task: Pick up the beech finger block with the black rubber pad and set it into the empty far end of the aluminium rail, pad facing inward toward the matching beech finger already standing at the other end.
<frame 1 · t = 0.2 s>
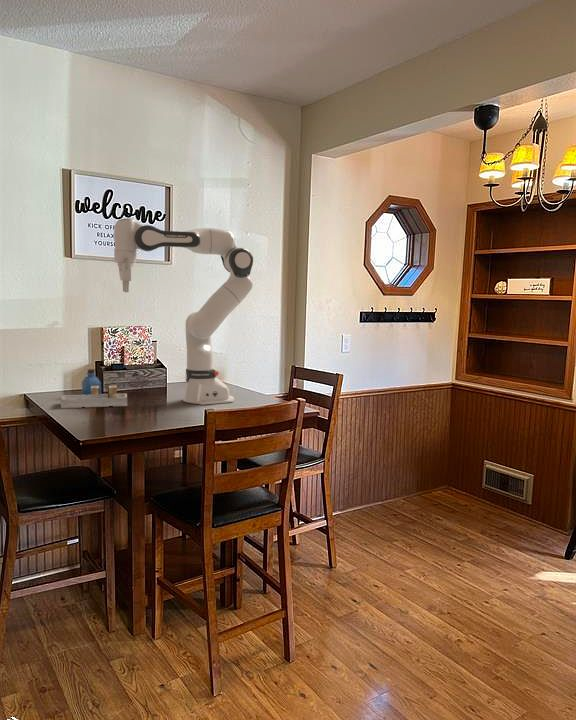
hand: (125, 292, 240), 47 cm above the table, tool pointing down, fingers open, 8 cm apart
finger block: (95, 400, 250), on the table
rail: (95, 404, 242), on the table
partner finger: (112, 400, 244), resting on rail
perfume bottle: (91, 396, 259), on the table
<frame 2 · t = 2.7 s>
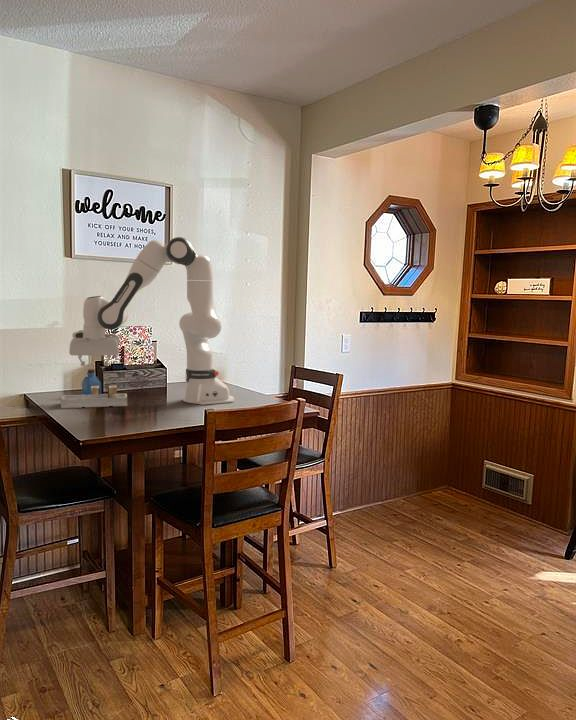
hand: (94, 365, 248), 15 cm above the table, tool pointing down, fingers open, 8 cm apart
nothing on the table moved.
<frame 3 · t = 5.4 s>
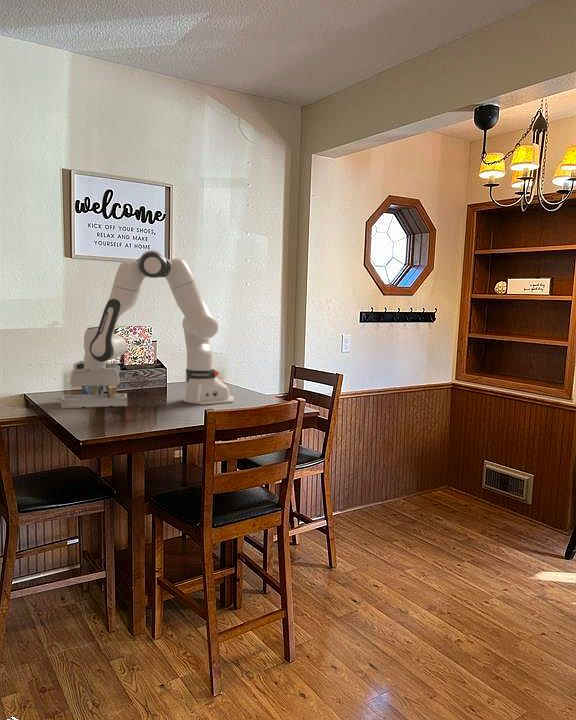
hand: (95, 395, 250), 2 cm above the table, tool pointing down, fingers closed on finger block, 3 cm apart
finger block: (95, 400, 250), on the table, touching gripper
everything else where it was.
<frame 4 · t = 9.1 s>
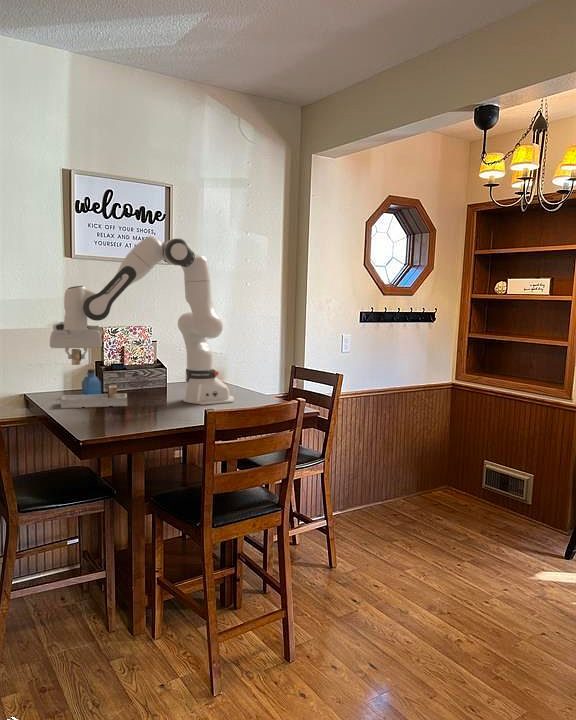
hand: (76, 358, 237), 19 cm above the table, tool pointing down, fingers closed on finger block, 3 cm apart
finger block: (76, 363, 238), point 17 cm above the table, touching gripper
everything else where it was.
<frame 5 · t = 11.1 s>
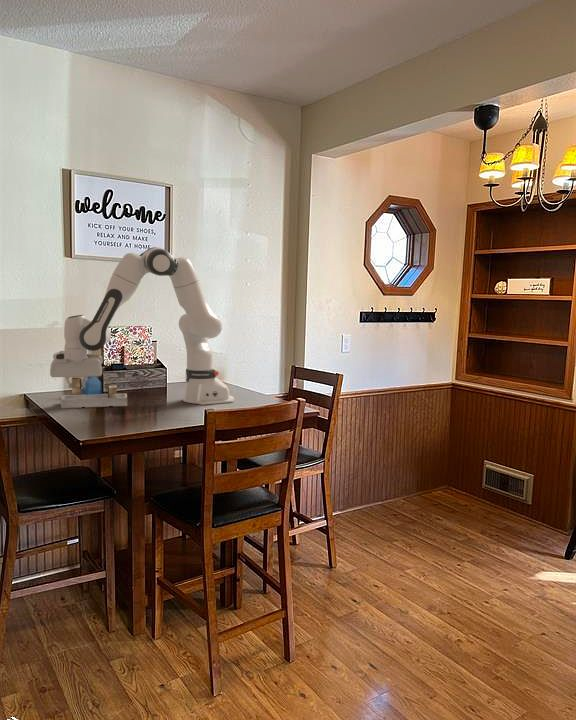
hand: (76, 387, 239), 8 cm above the table, tool pointing down, fingers closed on finger block, 3 cm apart
finger block: (76, 392, 239), point 5 cm above the table, touching gripper
everything else where it was.
when the fingers open (5 cm above the table, at t = 12.6 s): finger block stays where it is, resting on rail.
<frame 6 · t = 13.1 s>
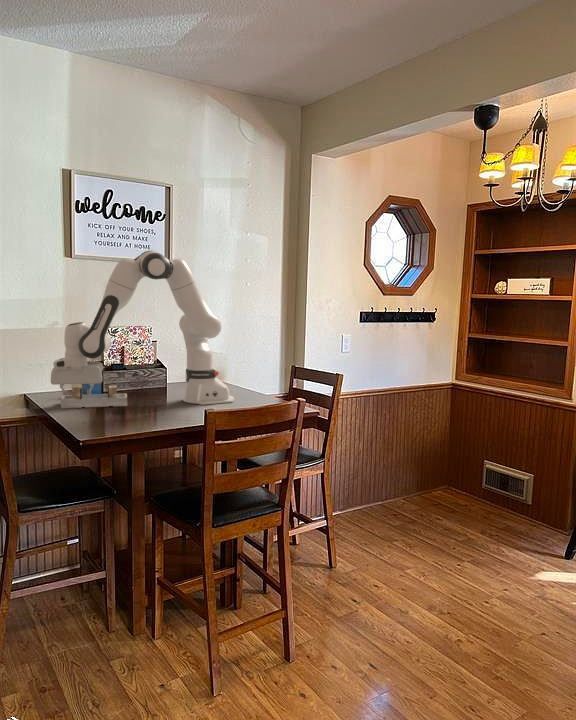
hand: (77, 394, 239), 5 cm above the table, tool pointing down, fingers open, 8 cm apart
finger block: (77, 401, 240), point 1 cm above the table, touching rail
everything else where it was.
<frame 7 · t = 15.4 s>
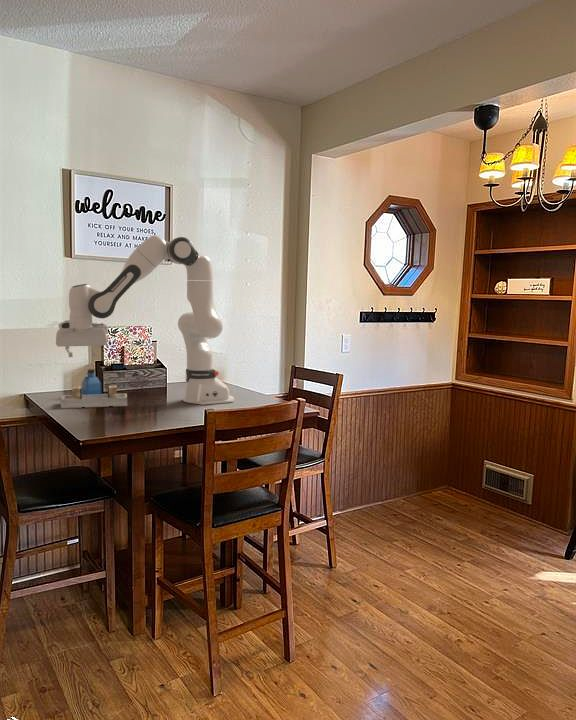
hand: (82, 356, 240), 20 cm above the table, tool pointing down, fingers open, 8 cm apart
nothing on the table moved.
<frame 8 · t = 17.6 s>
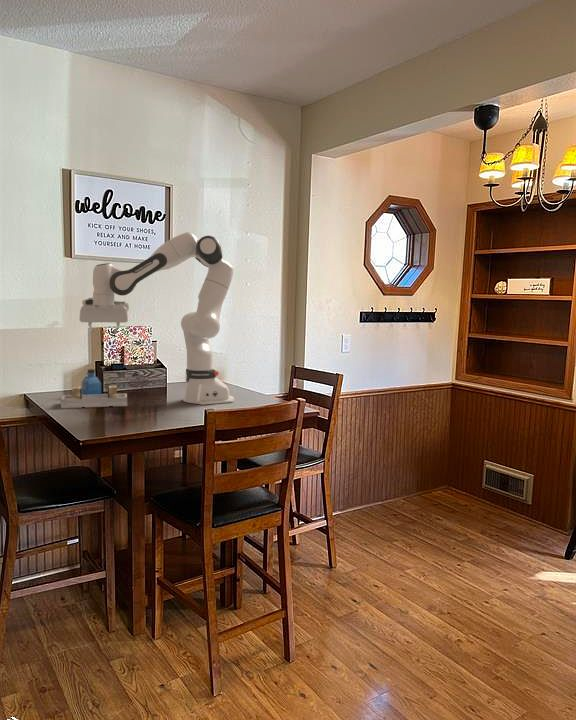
hand: (104, 332, 251), 29 cm above the table, tool pointing down, fingers open, 8 cm apart
nothing on the table moved.
at the end: finger block 0.0 cm from the target spot on the rail, point 1.5 cm above the rail's base; finger block tilted 0°; the gripper is holding nothing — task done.
